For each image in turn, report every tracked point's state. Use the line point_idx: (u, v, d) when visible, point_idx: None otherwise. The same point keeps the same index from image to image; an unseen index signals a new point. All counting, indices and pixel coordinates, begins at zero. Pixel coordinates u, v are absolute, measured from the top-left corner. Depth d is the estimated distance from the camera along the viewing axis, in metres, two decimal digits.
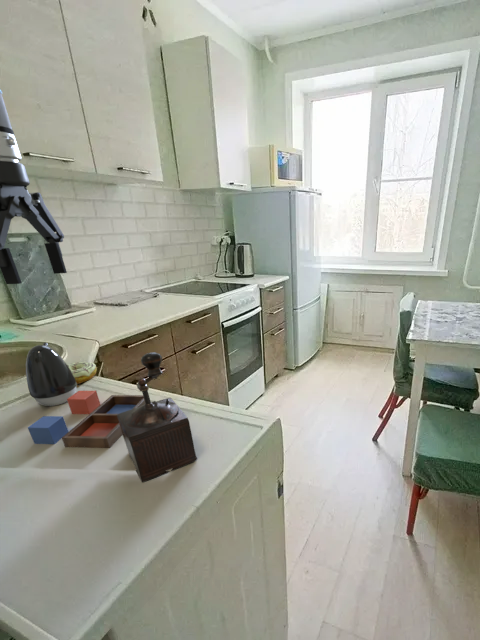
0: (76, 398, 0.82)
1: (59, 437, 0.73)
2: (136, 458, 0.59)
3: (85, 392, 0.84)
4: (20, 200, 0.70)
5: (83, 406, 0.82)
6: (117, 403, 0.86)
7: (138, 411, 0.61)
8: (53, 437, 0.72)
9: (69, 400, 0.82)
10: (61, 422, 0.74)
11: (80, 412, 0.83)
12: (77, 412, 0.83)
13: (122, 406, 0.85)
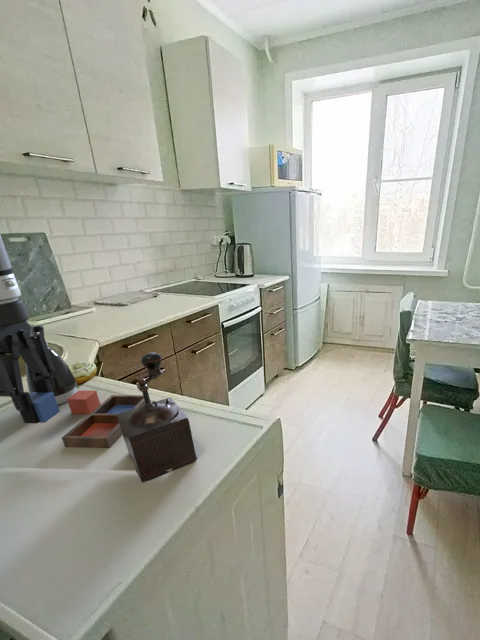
0: (76, 398, 0.82)
1: (49, 413, 0.71)
2: (136, 458, 0.59)
3: (85, 392, 0.84)
4: (18, 333, 0.65)
5: (83, 406, 0.82)
6: (117, 403, 0.86)
7: (138, 412, 0.61)
8: (42, 413, 0.69)
9: (69, 400, 0.82)
10: (51, 398, 0.71)
11: (80, 412, 0.83)
12: (77, 412, 0.83)
13: (122, 406, 0.85)
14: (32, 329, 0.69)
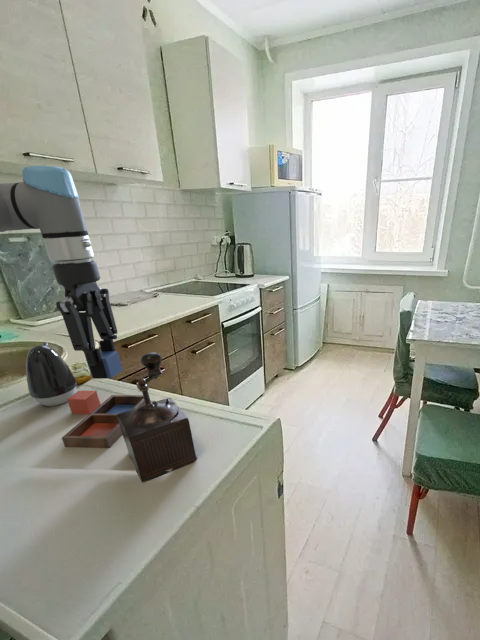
0: (76, 398, 0.82)
1: (114, 370, 0.76)
2: (136, 458, 0.59)
3: (85, 392, 0.84)
4: (90, 293, 0.70)
5: (83, 406, 0.82)
6: (117, 403, 0.86)
7: (138, 412, 0.61)
8: (109, 369, 0.75)
9: (69, 400, 0.82)
10: (116, 356, 0.77)
11: (80, 412, 0.83)
12: (77, 412, 0.83)
13: (122, 406, 0.85)
14: (99, 291, 0.74)
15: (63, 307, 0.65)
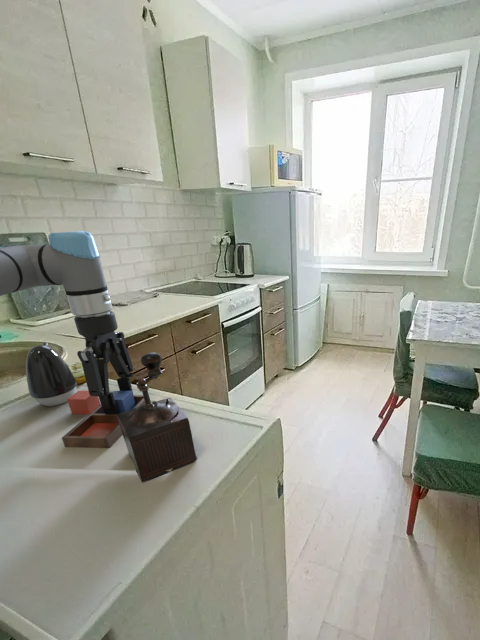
0: (76, 398, 0.82)
1: (129, 409, 0.81)
2: (136, 458, 0.59)
3: (85, 392, 0.84)
4: (108, 341, 0.75)
5: (83, 406, 0.82)
6: None
7: (138, 411, 0.61)
8: (125, 408, 0.79)
9: (69, 400, 0.82)
10: (130, 396, 0.82)
11: (80, 412, 0.83)
12: (77, 412, 0.83)
13: None
14: (116, 336, 0.79)
15: (83, 356, 0.69)
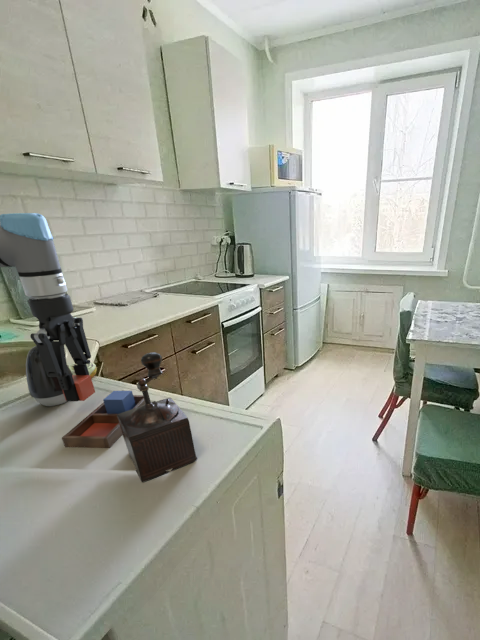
0: None
1: (129, 409, 0.81)
2: (136, 458, 0.59)
3: (79, 376, 0.83)
4: (64, 323, 0.76)
5: (77, 391, 0.80)
6: None
7: (138, 412, 0.61)
8: (125, 408, 0.79)
9: None
10: (130, 396, 0.82)
11: None
12: None
13: None
14: (74, 320, 0.80)
15: (37, 339, 0.71)
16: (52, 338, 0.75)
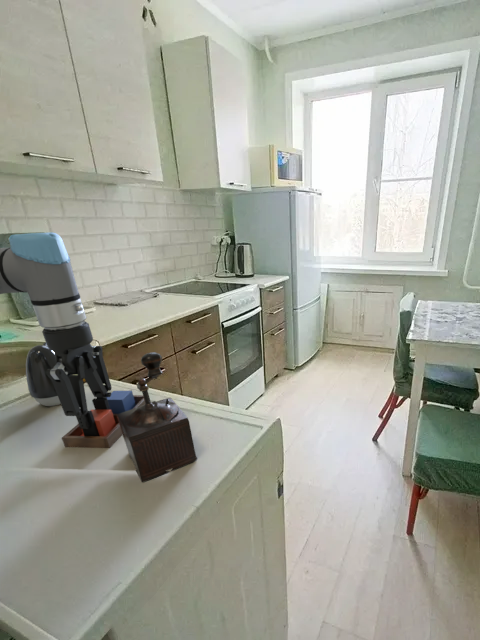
0: None
1: (129, 409, 0.81)
2: (136, 458, 0.59)
3: (99, 411, 0.74)
4: (83, 354, 0.67)
5: (97, 428, 0.71)
6: None
7: (138, 411, 0.61)
8: (125, 408, 0.79)
9: None
10: (130, 396, 0.82)
11: None
12: None
13: None
14: (92, 349, 0.71)
15: (53, 375, 0.62)
16: (70, 372, 0.66)
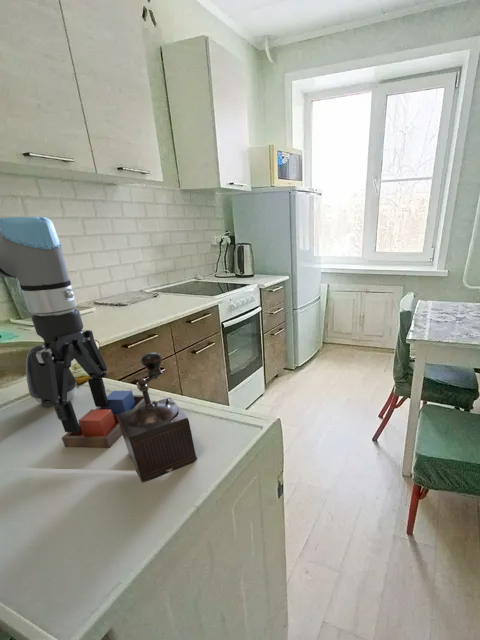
0: (89, 419, 0.71)
1: (129, 409, 0.81)
2: (136, 458, 0.59)
3: (99, 411, 0.74)
4: (73, 343, 0.67)
5: (97, 429, 0.71)
6: None
7: (138, 412, 0.61)
8: (125, 408, 0.79)
9: (81, 421, 0.71)
10: (130, 396, 0.82)
11: (93, 435, 0.72)
12: (90, 435, 0.72)
13: None
14: (83, 335, 0.71)
15: (39, 357, 0.60)
16: (56, 359, 0.64)
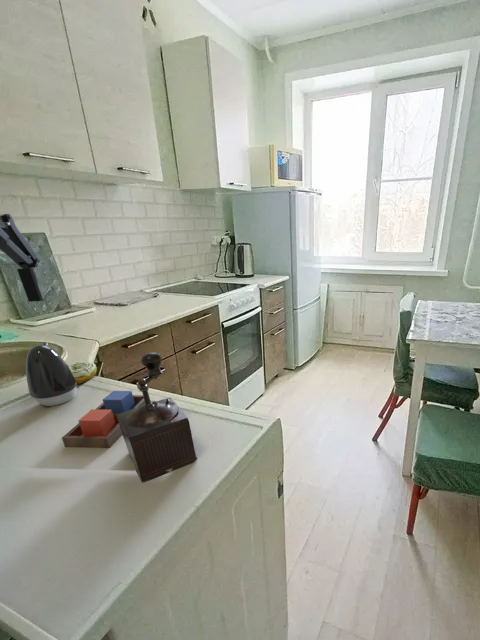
0: (89, 419, 0.71)
1: (128, 409, 0.81)
2: (136, 458, 0.59)
3: (99, 411, 0.74)
4: None
5: (97, 429, 0.71)
6: None
7: (138, 412, 0.61)
8: (124, 409, 0.79)
9: (81, 421, 0.71)
10: (130, 396, 0.82)
11: (93, 435, 0.72)
12: (90, 435, 0.72)
13: None
14: (1, 219, 0.65)
15: None
16: None
